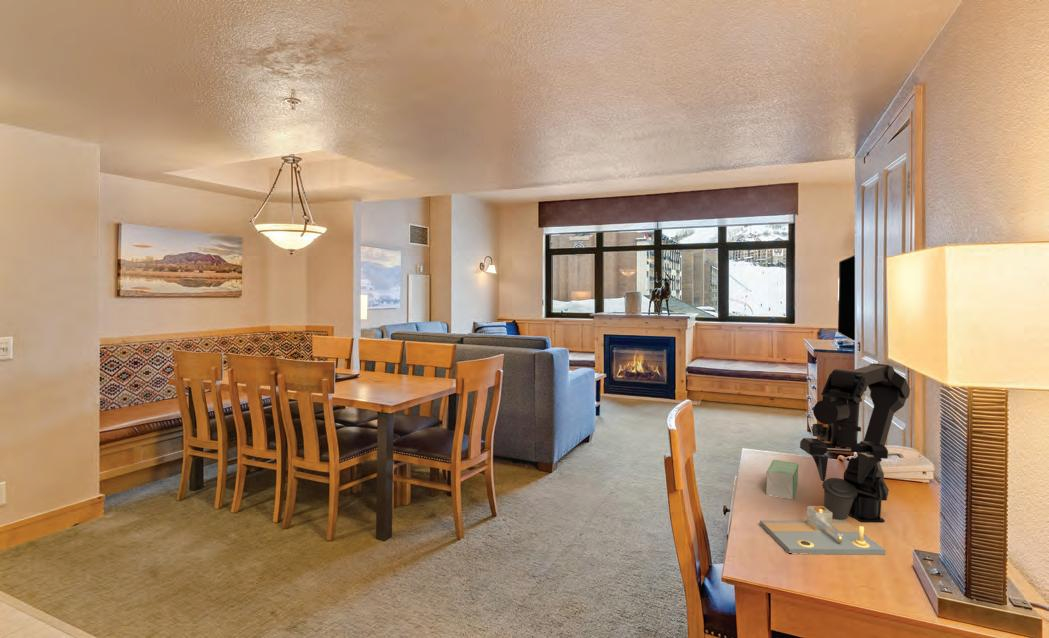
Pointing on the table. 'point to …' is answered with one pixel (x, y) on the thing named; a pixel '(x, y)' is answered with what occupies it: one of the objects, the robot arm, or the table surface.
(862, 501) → the robot arm
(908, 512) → the table surface
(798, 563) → the table surface
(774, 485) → the box
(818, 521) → the white block with bar
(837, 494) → the coffee cup
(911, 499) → the table surface
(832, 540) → the jig plate
